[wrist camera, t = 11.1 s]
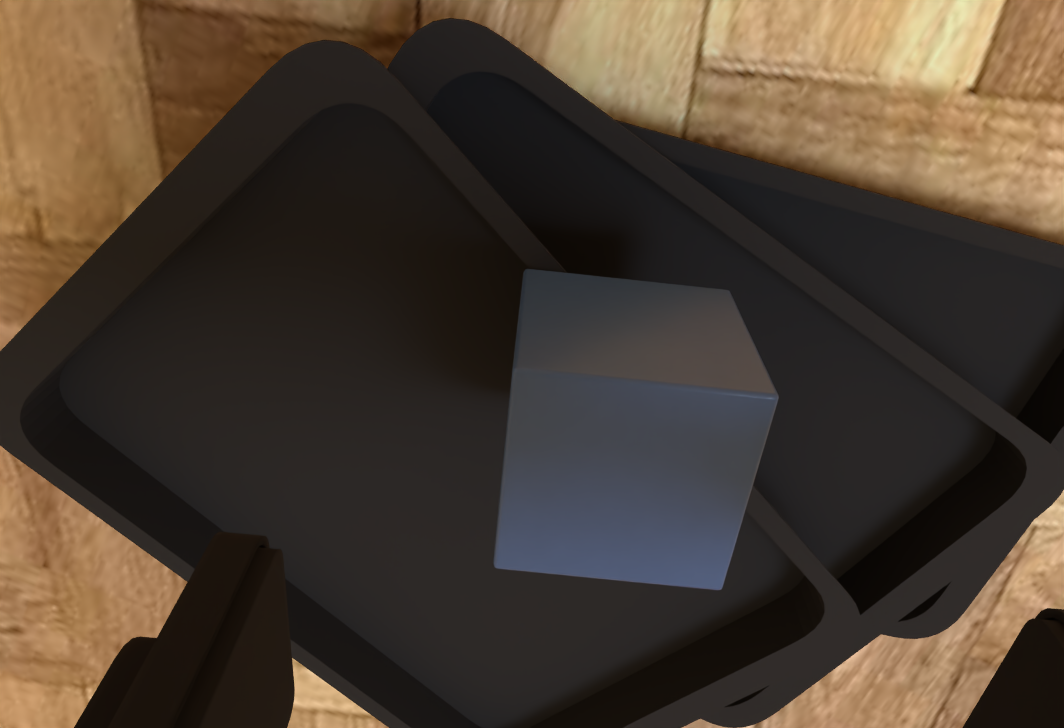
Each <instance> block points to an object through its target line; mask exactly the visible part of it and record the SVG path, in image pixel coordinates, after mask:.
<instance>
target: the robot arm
mask: <svg viewBox="0 0 1064 728" xmlns="http://www.w3.org/2000/svg"><path fill="white" fill-rule="evenodd" d="M293 702H294V677H293V665H292V653H291V641H290V630H289V618H288V606H287V594H286V583H285V571H284V559H283V552H282V550H281V549H271V548H270V547H269V541H268V539H267V537H266V536H262V535H251V534H240V533H229V532H218V533H216V534H215V535H214V536H213V538H212V539H211V541H210V543H209V544H208V546H207V548H206V550H205V552H204V554H203V555H202V557H201V559H200V561H199V563H198V564H197V566H196V568H195V570H194V572H193V574H192V575H191V577H190V579H189V581H188V583H187V584H186V586H185V588H184V590H183V592H182V594H181V595H180V597H179V599H178V601H177V603H176V604H175V606H174V608H173V610H172V612H171V613H170V615H169V617H168V619H167V621H166V623H165V624H164V626H163V628H162V630H161V632H160V633H159V635H158V637H157V638H149V637H136V638H132V639H131V640H130V641H129V642H128V643H126V644H125V645H124V646H123V648H122V649H121V651H120V652H119V653H118V655H117V656H116V658H115V659H114V661H113V663H112V664H111V666H110V668H109V669H108V671H107V673H106V674H105V676H104V678H103V680H102V681H101V683H100V685H99V686H98V688H97V690H96V691H95V693H94V695H93V696H92V698H91V700H90V701H89V703H88V705H87V707H86V708H85V710H84V712H83V713H82V715H81V717H80V718H79V720H78V722H77V723H76V725H75V727H74V728H287V726H288V723H289V720H290V717H291V713H292V708H293ZM963 728H1064V610H1062V609H1051V608H1047V609H1045V610H1043V611H1041V612H1040V613H1039V614H1038V615H1037V616H1036V618H1035V619H1031V620H1029V621H1028V622H1027V623H1026V624H1025V625H1024V627H1023V628H1022V630H1021V632H1020V633H1019V635H1018V636H1017V638H1016V640H1015V641H1014V643H1013V645H1012V646H1011V648H1010V650H1009V651H1008V653H1007V655H1006V656H1005V658H1004V660H1003V661H1002V663H1001V665H1000V666H999V668H998V670H997V671H996V673H995V675H994V676H993V678H992V680H991V681H990V683H989V685H988V686H987V688H986V690H985V691H984V693H983V695H982V696H981V698H980V700H979V701H978V703H977V705H976V706H975V708H974V710H973V711H972V713H971V715H970V716H969V718H968V720H967V721H966V723H965V724H964V726H963Z"/></svg>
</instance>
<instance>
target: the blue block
mask: <svg viewBox="0 0 1064 728" xmlns="http://www.w3.org/2000/svg"><path fill="white" fill-rule="evenodd" d="M778 399H779V397H778V393H777V391H776V389H775V387H774V385H773V383H772V381H771V379H770V376H769V374H768V372H767V370H766V368H765V366H764V364H763V361H762V359H761V357H760V355H759V353H758V351H757V349H756V347H755V344H754V342H753V340H752V338H751V336H750V334H749V332H748V329H747V327H746V325H745V323H744V321H743V319H742V317H741V315H740V312H739V310H738V308H737V306H736V304H735V302H734V300H733V297H732V295H731V293H730V291H728V290H723V289H714V288H704V287H695V286H686V285H676V284H667V283H657V282H648V281H638V280H629V279H619V278H610V277H600V276H591V275H581V274H572V273H563V272H553V271H544V270H534V269H526V270H525V271H524V273H523V281H522V290H521V299H520V307H519V316H518V325H517V333H516V342H515V351H514V360H513V368H512V378H511V388H510V398H509V408H508V418H507V428H506V438H505V448H504V458H503V468H502V478H501V488H500V498H499V508H498V518H497V528H496V538H495V548H494V558H493V564H494V567H495V568H497V569H507V570H517V571H527V572H537V573H547V574H558V575H568V576H578V577H588V578H598V579H608V580H618V581H629V582H639V583H649V584H659V585H669V586H679V587H689V588H700V589H710V590H721V589H722V587H723V584H724V580H725V577H726V574H727V570H728V567H729V563H730V560H731V557H732V553H733V550H734V547H735V543H736V540H737V537H738V533H739V530H740V526H741V523H742V520H743V516H744V513H745V510H746V506H747V503H748V500H749V496H750V493H751V489H752V486H753V483H754V479H755V476H756V473H757V469H758V466H759V463H760V459H761V456H762V452H763V449H764V446H765V442H766V439H767V436H768V432H769V429H770V425H771V422H772V419H773V415H774V412H775V409H776V405H777V402H778Z"/></svg>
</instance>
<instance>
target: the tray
mask: <svg viewBox="0 0 1064 728" xmlns="http://www.w3.org/2000/svg"><path fill="white" fill-rule="evenodd" d="M526 269H534V270H544V271H553V272H563V273H572V274H581V275H591V276H600V277H610V278H619V279H629V280H638V281H648V282H657V283H667V284H676V285H686V286H695V287H704V288H714V289H723V290H728V291H730V293H731V295H732V297H733V300H734V302H735V304H736V306H737V308H738V310H739V312H740V315H741V317H742V319H743V321H744V323H745V325H746V327H747V329H748V332H749V334H750V336H751V338H752V340H753V342H754V344H755V347H756V349H757V351H758V353H759V355H760V357H761V359H762V361H763V364H764V366H765V368H766V370H767V372H768V374H769V376H770V379H771V381H772V383H773V385H774V387H775V389H776V391H777V393H778V397H779V399H778V402H777V405H776V409H775V412H774V415H773V419H772V422H771V425H770V429H769V432H768V436H767V439H766V442H765V446H764V449H763V452H762V456H761V459H760V463H759V466H758V469H757V473H756V476H755V479H754V483H753V486H752V489H751V493H750V496H749V500H748V503H747V506H746V510H745V513H744V516H743V520H742V523H741V526H740V530H739V533H738V537H737V540H736V543H735V547H734V550H733V553H732V557H731V560H730V563H729V567H728V570H727V574H726V577H725V580H724V584H723V587H722V589H721V590H710V589H700V588H689V587H679V586H669V585H659V584H649V583H639V582H629V581H618V580H608V579H598V578H588V577H578V576H568V575H558V574H547V573H537V572H527V571H517V570H507V569H497V568H495V567H494V564H493V558H494V548H495V538H496V528H497V518H498V508H499V498H500V488H501V478H502V468H503V458H504V448H505V438H506V428H507V418H508V408H509V398H510V388H511V378H512V368H513V360H514V351H515V342H516V333H517V325H518V316H519V307H520V299H521V290H522V281H523V273H524V271H525V270H526ZM0 446H2V447H3V448H4V449H5V450H7V451H8V452H9V453H10V454H12V455H13V456H15V457H16V458H17V459H19V460H20V461H22V462H23V463H24V464H26V465H27V466H28V467H30V468H31V469H33V470H34V471H35V472H37V473H38V474H39V475H41V476H42V477H44V478H45V479H46V480H48V481H49V482H51V483H52V484H53V485H55V486H56V487H57V488H59V489H60V490H62V491H63V492H64V493H66V494H67V495H68V496H70V497H71V498H73V499H74V500H75V501H77V502H78V503H80V504H81V505H82V506H84V507H85V508H86V509H88V510H89V511H91V512H92V513H93V514H95V515H96V516H97V517H99V518H100V519H102V520H103V521H104V522H106V523H107V524H109V525H110V526H111V527H113V528H114V529H115V530H117V531H118V532H120V533H121V534H122V535H124V536H125V537H126V538H128V539H129V540H131V541H132V542H133V543H135V544H136V545H138V546H139V547H140V548H142V549H143V550H144V551H146V552H147V553H149V554H150V555H151V556H153V557H154V558H155V559H157V560H158V561H160V562H161V563H162V564H164V565H165V566H167V567H168V568H169V569H171V570H172V571H173V572H175V573H176V574H178V575H179V576H180V577H182V578H183V579H184V580H186V581H187V582H188V581H189V579H190V577H191V575H192V574H193V572H194V570H195V568H196V566H197V564H198V563H199V561H200V559H201V557H202V555H203V554H204V552H205V550H206V548H207V546H208V544H209V543H210V541H211V539H212V538H213V536H214V535H215V534H216V533H218V532H229V533H240V534H251V535H262V536H266V537H267V539H268V541H269V547H270V548H271V549H281V550H282V552H283V559H284V571H285V583H286V594H287V606H288V618H289V630H290V641H291V653H292V658H294V659H295V660H296V661H298V662H299V663H300V664H302V665H303V666H305V667H306V668H307V669H309V670H310V671H312V672H313V673H314V674H316V675H317V676H318V677H320V678H321V679H323V680H324V681H325V682H327V683H328V684H329V685H331V686H332V687H334V688H335V689H336V690H338V691H339V692H341V693H342V694H343V695H345V696H346V697H347V698H349V699H350V700H352V701H353V702H354V703H356V704H357V705H358V706H360V707H361V708H363V709H364V710H365V711H367V712H368V713H370V714H371V715H372V716H374V717H375V718H376V719H378V720H379V721H381V722H382V723H383V724H385V725H386V726H387V727H389V728H681V727H683V726H686V725H688V724H690V723H692V722H694V721H696V720H698V719H700V718H701V719H703V720H705V721H707V722H710V723H712V724H715V725H719V726H723V727H732V728H737V727H746V726H750V725H754V724H756V723H759V722H761V721H763V720H765V719H767V718H768V717H770V716H771V715H773V714H775V713H776V712H777V711H779V710H780V709H781V708H783V707H784V706H785V705H787V704H788V703H789V702H791V701H792V700H793V699H795V698H796V697H797V696H799V695H800V694H801V693H803V692H804V691H805V690H807V689H808V688H810V687H811V686H812V685H814V684H815V683H816V682H818V681H819V680H820V679H822V678H823V677H824V676H826V675H827V674H828V673H830V672H831V671H832V670H834V669H835V668H836V667H838V666H839V665H840V664H842V663H843V662H844V661H846V660H847V659H848V658H850V657H851V656H852V655H854V654H855V653H856V652H858V651H859V650H860V649H862V648H863V647H864V646H866V645H867V644H868V643H870V642H871V641H872V640H874V639H875V638H876V637H878V636H879V635H880V634H883V635H887V636H892V637H898V638H906V639H918V638H925V637H930V636H933V635H936V634H938V633H940V632H942V631H944V630H946V629H947V628H949V627H950V626H951V625H952V624H954V623H955V622H956V621H957V620H958V619H959V618H960V617H961V615H962V614H963V613H964V612H965V611H966V609H967V608H968V607H969V605H970V604H971V603H972V601H973V600H974V599H975V597H976V596H977V595H978V593H979V592H980V591H981V589H982V588H983V587H984V585H985V584H986V583H987V581H988V580H989V579H990V577H991V576H992V575H993V573H994V572H995V571H996V569H997V568H998V567H999V565H1000V564H1001V563H1002V561H1003V560H1004V559H1005V557H1006V556H1007V555H1008V553H1009V552H1010V551H1011V549H1012V548H1013V547H1014V545H1015V544H1016V543H1017V541H1018V540H1019V539H1020V537H1021V536H1022V535H1023V533H1024V532H1025V531H1026V529H1027V528H1028V527H1029V525H1030V524H1031V523H1032V521H1033V520H1034V519H1035V518H1037V517H1038V516H1039V515H1040V514H1042V513H1043V512H1044V511H1045V510H1046V509H1047V508H1049V507H1050V506H1051V505H1052V504H1053V503H1054V502H1055V500H1056V499H1057V498H1058V497H1059V496H1060V495H1061V493H1062V491H1063V490H1064V245H1061V244H1057V243H1053V242H1050V241H1046V240H1043V239H1039V238H1036V237H1032V236H1028V235H1025V234H1021V233H1018V232H1014V231H1011V230H1007V229H1003V228H1000V227H996V226H993V225H989V224H986V223H982V222H978V221H975V220H971V219H968V218H964V217H960V216H957V215H953V214H950V213H946V212H943V211H939V210H935V209H932V208H928V207H925V206H921V205H918V204H914V203H910V202H907V201H903V200H900V199H896V198H893V197H889V196H885V195H882V194H878V193H875V192H871V191H868V190H864V189H860V188H857V187H853V186H850V185H846V184H842V183H839V182H835V181H832V180H828V179H825V178H821V177H817V176H814V175H810V174H807V173H803V172H800V171H796V170H792V169H789V168H785V167H782V166H778V165H775V164H771V163H767V162H764V161H760V160H757V159H753V158H750V157H746V156H742V155H739V154H735V153H732V152H728V151H724V150H721V149H717V148H714V147H710V146H707V145H703V144H699V143H696V142H692V141H689V140H685V139H682V138H678V137H674V136H671V135H667V134H664V133H660V132H657V131H653V130H649V129H646V128H642V127H639V126H635V125H632V124H628V123H624V122H621V121H617V120H614V119H612V118H611V117H610V116H608V115H607V114H606V113H604V112H603V111H602V110H600V109H599V108H598V107H596V106H595V105H594V104H592V103H591V102H590V101H588V100H587V99H586V98H584V97H583V96H582V95H580V94H579V93H577V92H576V91H575V90H573V89H572V88H571V87H569V86H568V85H567V84H565V83H564V82H563V81H561V80H560V79H559V78H557V77H556V76H555V75H553V74H552V73H551V72H549V71H548V70H546V69H545V68H544V67H542V66H541V65H540V64H538V63H537V62H536V61H534V60H533V59H532V58H530V57H529V56H528V55H526V54H525V53H524V52H522V51H521V50H520V49H518V48H517V47H516V46H514V45H513V44H511V43H510V42H509V41H507V40H506V39H504V38H503V37H501V36H500V35H498V34H497V33H495V32H493V31H492V30H490V29H489V28H487V27H485V26H482V25H479V24H477V23H474V22H472V21H469V20H462V19H454V18H448V19H443V20H438V21H433V22H432V23H430V24H428V25H426V26H424V27H423V28H421V29H419V30H417V31H416V32H415V33H414V34H413V35H412V36H411V37H410V38H409V39H408V40H407V41H406V42H405V43H404V44H403V46H402V47H401V48H400V50H399V51H398V53H397V54H396V56H395V57H394V59H393V60H392V62H391V63H390V65H389V67H388V69H387V68H386V67H385V66H384V65H383V64H382V63H381V62H379V61H378V60H377V59H375V58H374V57H372V56H371V55H369V54H368V53H367V52H365V51H364V50H362V49H360V48H358V47H355V46H353V45H350V44H348V43H345V42H342V41H331V40H321V41H317V42H312V43H307V44H304V45H302V46H301V47H299V48H297V49H295V50H293V51H291V52H289V53H288V54H286V55H285V56H284V57H283V58H281V59H280V60H279V61H278V62H277V63H276V64H275V65H273V66H272V67H271V68H270V69H269V70H268V71H267V72H266V73H265V74H264V75H263V76H262V77H261V78H260V79H259V80H258V81H257V83H256V84H255V85H254V86H253V87H252V88H251V89H250V90H249V91H248V92H247V93H246V94H245V95H244V96H243V97H242V98H241V99H240V100H239V101H238V102H237V104H236V105H235V106H234V107H233V108H232V109H231V110H230V111H229V112H228V113H227V114H226V115H225V116H224V117H223V118H222V119H221V120H220V121H219V122H218V123H217V125H216V126H215V127H214V128H213V129H212V130H211V131H210V132H209V133H208V134H207V135H206V136H205V137H204V138H203V139H202V140H201V141H200V142H199V143H198V144H197V145H196V147H195V148H194V149H193V150H192V151H191V152H190V153H189V154H188V155H187V156H186V157H185V158H184V159H183V160H182V161H181V162H180V163H179V164H178V165H177V166H176V168H175V169H174V170H173V171H172V172H171V173H170V174H169V175H168V176H167V177H166V178H165V179H164V180H163V181H162V182H161V183H160V184H159V185H158V186H157V187H156V189H155V190H154V191H153V192H152V193H151V194H150V195H149V196H148V197H147V198H146V199H145V200H144V201H143V202H142V203H141V204H140V205H139V206H138V207H137V208H136V210H135V211H134V212H133V213H132V214H131V215H130V216H129V217H128V218H127V219H126V220H125V221H124V222H123V223H122V224H121V225H120V226H119V227H118V228H117V229H116V230H115V232H114V233H113V234H112V235H111V236H110V237H109V238H108V239H107V240H106V241H105V242H104V243H103V244H102V245H101V246H100V247H99V248H98V249H97V250H96V251H95V253H94V254H93V255H92V256H91V257H90V258H89V259H88V260H87V261H86V262H85V263H84V264H83V265H82V266H81V267H80V268H79V269H78V270H77V271H76V272H75V274H74V275H73V276H72V277H71V278H70V279H69V280H68V281H67V282H66V283H65V284H64V285H63V286H62V287H61V288H60V289H59V290H58V291H57V292H56V293H55V295H54V296H53V297H52V298H51V299H50V300H49V301H48V302H47V303H46V304H45V305H44V306H43V307H42V308H41V309H40V310H39V311H38V312H37V313H36V314H35V315H34V317H33V318H32V319H31V320H30V321H29V322H28V323H27V324H26V325H25V326H24V327H23V328H22V329H21V330H20V331H19V332H18V333H17V334H16V335H15V336H14V338H13V339H12V340H11V341H10V342H9V343H8V344H7V345H6V346H5V347H4V348H3V349H2V350H1V351H0Z"/></svg>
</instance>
